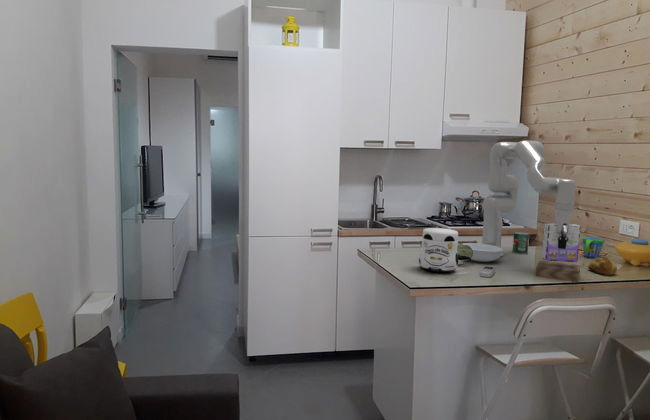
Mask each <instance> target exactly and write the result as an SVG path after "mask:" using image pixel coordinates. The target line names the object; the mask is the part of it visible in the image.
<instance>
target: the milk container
mask: <svg viewBox="0 0 650 420" xmlns="http://www.w3.org/2000/svg"><path fill="white" fill-rule="evenodd" d="M422 230H423V231H422V240H421V250H420V253H419V256H418V263H419V267H421V268H422V269H423V270H425V271H429V272H435V273H451V272H454V271H456V270H457V268H458V265H459V256H458V255H459V254H458V246H459V241H458V240H459V232H458V231H457V230H454V229H450V228H442V227H441V228H440V227H429V228H428V227H426V228H423V229H422Z"/></svg>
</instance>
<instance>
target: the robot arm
mask: <svg viewBox="0 0 650 420" xmlns="http://www.w3.org/2000/svg"><path fill="white" fill-rule="evenodd" d="M545 151H546V150H545V146H544V144H543V143H542V142H540V141H538V140H528V139H526V140H520V141H518V142H517V141H516V142H515V141H514V142H513V141H500V142H499V141H498V142H496V143H494V144H493V146H492V147H491V149H490V152H489V161H490V163H489V164H490V167H489V168H490V169H489V174H488V186H487V187H488V190H489V191H490V192H492V193H498V194H491V195H487V196H486V197H485V198H484V199H483V201H482V208H483V226H482V227H483V228H482V240H481V244H487V245H492V246H497V247H500V248H501V246H502V233H503V224H504V223H503V219H502V216H501V214H510V213H512V212H515V210H516V208H517V202H518V195H519V187H520V186H519V180H518V178H517V177H516V176H515V175H513V174H508V164H507V161H506V159H507V160H508V159H509V160H520V161H521V162H522V163H523V165H524V166H525V167H526V169H527V171H526V177H527V181H528V183H529V185H530V186H531V187H532V188H533V190H534V191H535V192H536V193H538V194H541V195H555V202H554V204H555V205H554V211H555V217H554V223H556V224H557V231H556V232H557V233H558V232H560V235H559V240H558V248H559V249H566V242H567V233H569V227H570V224H571V212H574V210H575V209H574V206H575V196H576V188H577V187H576V186H577V182H576V180H574V179H569V178H567V179H566V178H561V177H548V176H547V177H544V176H543V174H542V173H541V172H540V171H541V169H543V167H544V166H545V164H546V159H544V157H543V156H544V154H545ZM501 193H503V194H501ZM567 230H568V232H567ZM561 231H563V232H561ZM561 234H562V235H561ZM503 256H504V253H503V252H502V254H501V256H500V257H503Z"/></svg>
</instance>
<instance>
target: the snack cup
mask: <svg viewBox="0 0 650 420" xmlns="http://www.w3.org/2000/svg"><path fill="white" fill-rule="evenodd" d="M581 240H582V248H583V249H582V250H583V251H582V252H583V256H584V257H586V258H590V259H591V258H592V259H594V258H600V257H601V252H602V249H603V245H604V243H605V239H603V238H600V237H599V238H598V237H591V236H585V237H584V236H583V237H582V238H581Z"/></svg>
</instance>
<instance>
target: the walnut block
mask: <svg viewBox="0 0 650 420" xmlns="http://www.w3.org/2000/svg"><path fill="white" fill-rule="evenodd" d="M535 266H536V267H535V276H536V277H543V278H549V279H556V280H562V281H569V282H575V283H576V282H579V280H580V279H579V278H580V271H581V265H580V264H579V265H578V264H573V263H566V262H564V263H563V262H558V261H546V260H539V261H538V262H537V263H536V265H535Z"/></svg>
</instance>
